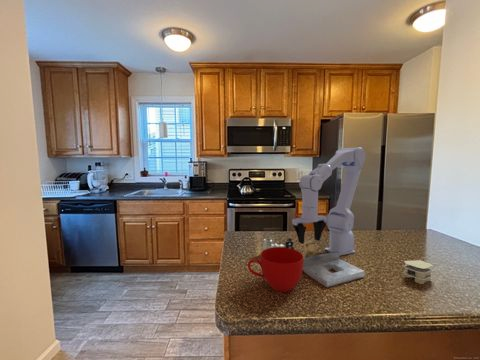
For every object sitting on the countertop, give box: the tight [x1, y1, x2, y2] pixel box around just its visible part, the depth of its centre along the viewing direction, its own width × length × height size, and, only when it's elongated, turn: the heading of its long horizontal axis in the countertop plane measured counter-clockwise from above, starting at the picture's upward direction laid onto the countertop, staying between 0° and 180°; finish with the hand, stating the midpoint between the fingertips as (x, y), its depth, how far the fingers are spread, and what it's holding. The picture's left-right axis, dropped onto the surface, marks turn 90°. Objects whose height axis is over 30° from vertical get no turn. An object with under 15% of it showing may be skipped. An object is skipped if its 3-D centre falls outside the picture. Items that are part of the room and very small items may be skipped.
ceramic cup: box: [247, 247, 304, 293], centre depth 73 cm, size 13×17×10 cm
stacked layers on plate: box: [403, 259, 434, 285], centre depth 77 cm, size 10×9×6 cm
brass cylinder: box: [303, 240, 316, 258], centre depth 92 cm, size 4×4×7 cm
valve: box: [262, 237, 295, 251], centre depth 98 cm, size 7×7×12 cm
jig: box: [302, 251, 366, 288], centre depth 81 cm, size 16×12×4 cm
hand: (309, 241), depth 92 cm, fingers open, 7 cm apart
